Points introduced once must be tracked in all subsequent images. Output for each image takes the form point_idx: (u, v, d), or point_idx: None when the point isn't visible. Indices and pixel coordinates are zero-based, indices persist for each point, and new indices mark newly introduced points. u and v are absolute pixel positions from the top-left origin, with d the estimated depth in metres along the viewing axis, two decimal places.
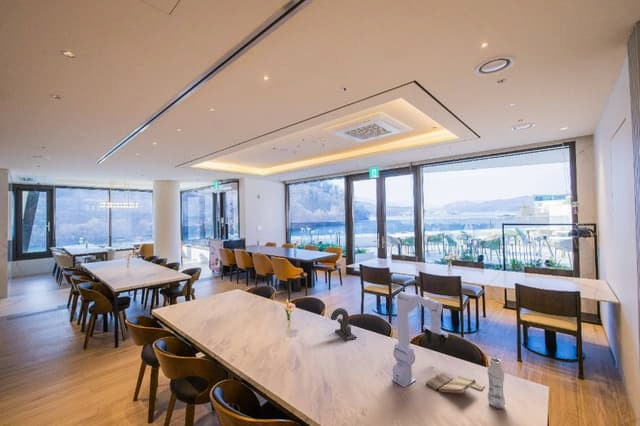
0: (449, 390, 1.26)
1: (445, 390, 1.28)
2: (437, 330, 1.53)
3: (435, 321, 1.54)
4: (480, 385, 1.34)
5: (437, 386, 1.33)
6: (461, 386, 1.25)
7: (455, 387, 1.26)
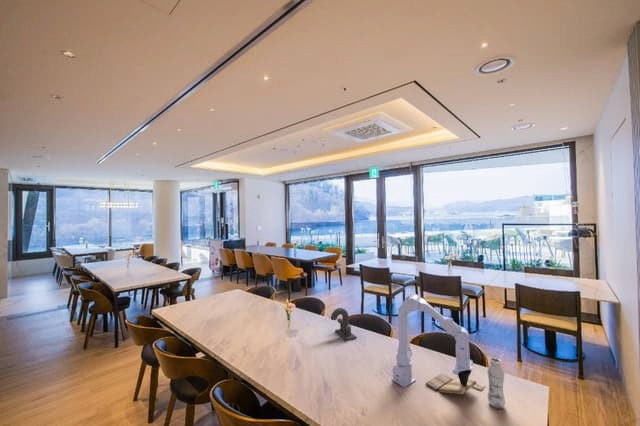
0: (449, 391, 1.26)
1: (445, 390, 1.28)
2: (457, 363, 1.27)
3: (457, 353, 1.27)
4: (480, 385, 1.34)
5: (437, 386, 1.33)
6: (462, 387, 1.25)
7: (455, 388, 1.26)
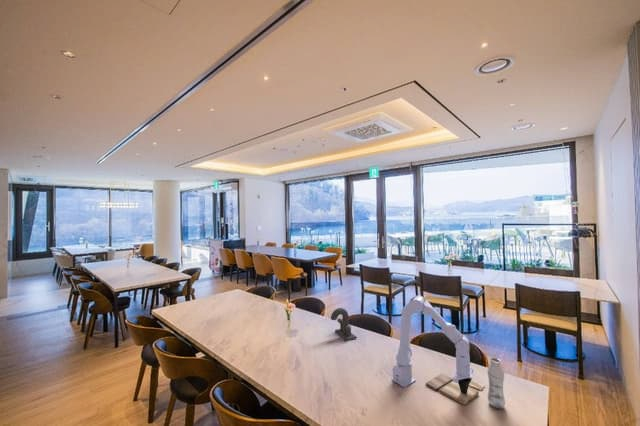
0: (451, 396, 1.25)
1: (446, 394, 1.27)
2: (457, 371, 1.27)
3: (457, 361, 1.27)
4: (480, 385, 1.34)
5: (437, 386, 1.33)
6: (464, 396, 1.24)
7: (458, 395, 1.25)
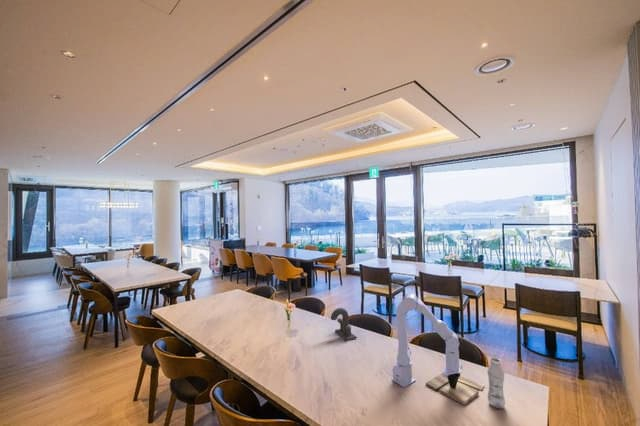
0: (451, 396, 1.25)
1: (446, 394, 1.27)
2: (446, 367, 1.32)
3: (447, 357, 1.31)
4: (480, 385, 1.34)
5: (437, 386, 1.33)
6: (464, 396, 1.24)
7: (458, 395, 1.25)
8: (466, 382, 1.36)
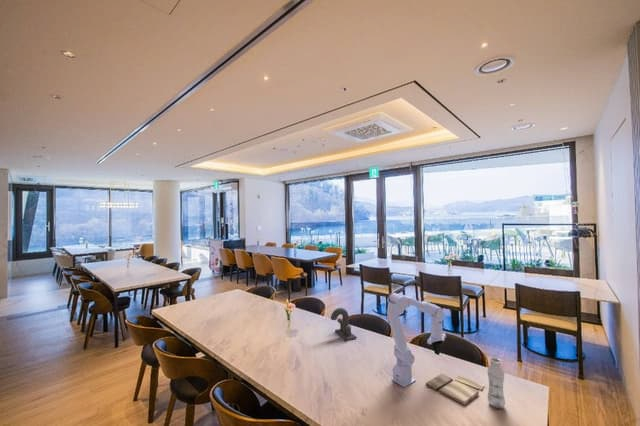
0: (451, 396, 1.25)
1: (446, 394, 1.27)
2: (431, 335, 1.47)
3: (435, 328, 1.45)
4: (480, 385, 1.34)
5: (437, 386, 1.33)
6: (464, 396, 1.24)
7: (458, 395, 1.25)
8: (466, 382, 1.36)
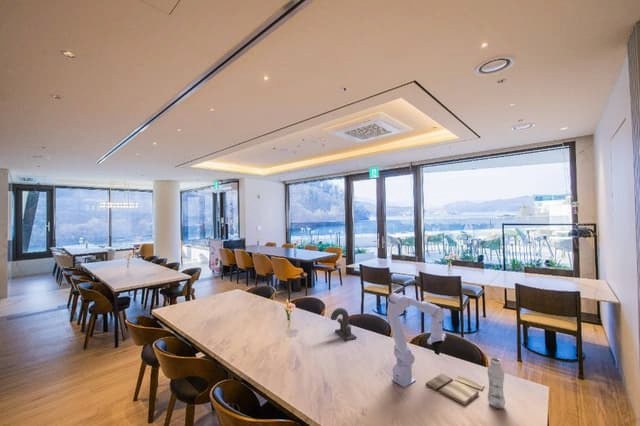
0: (451, 396, 1.25)
1: (446, 394, 1.27)
2: (431, 335, 1.47)
3: (435, 328, 1.45)
4: (480, 385, 1.34)
5: (437, 386, 1.33)
6: (464, 396, 1.24)
7: (458, 395, 1.25)
8: (466, 382, 1.36)
